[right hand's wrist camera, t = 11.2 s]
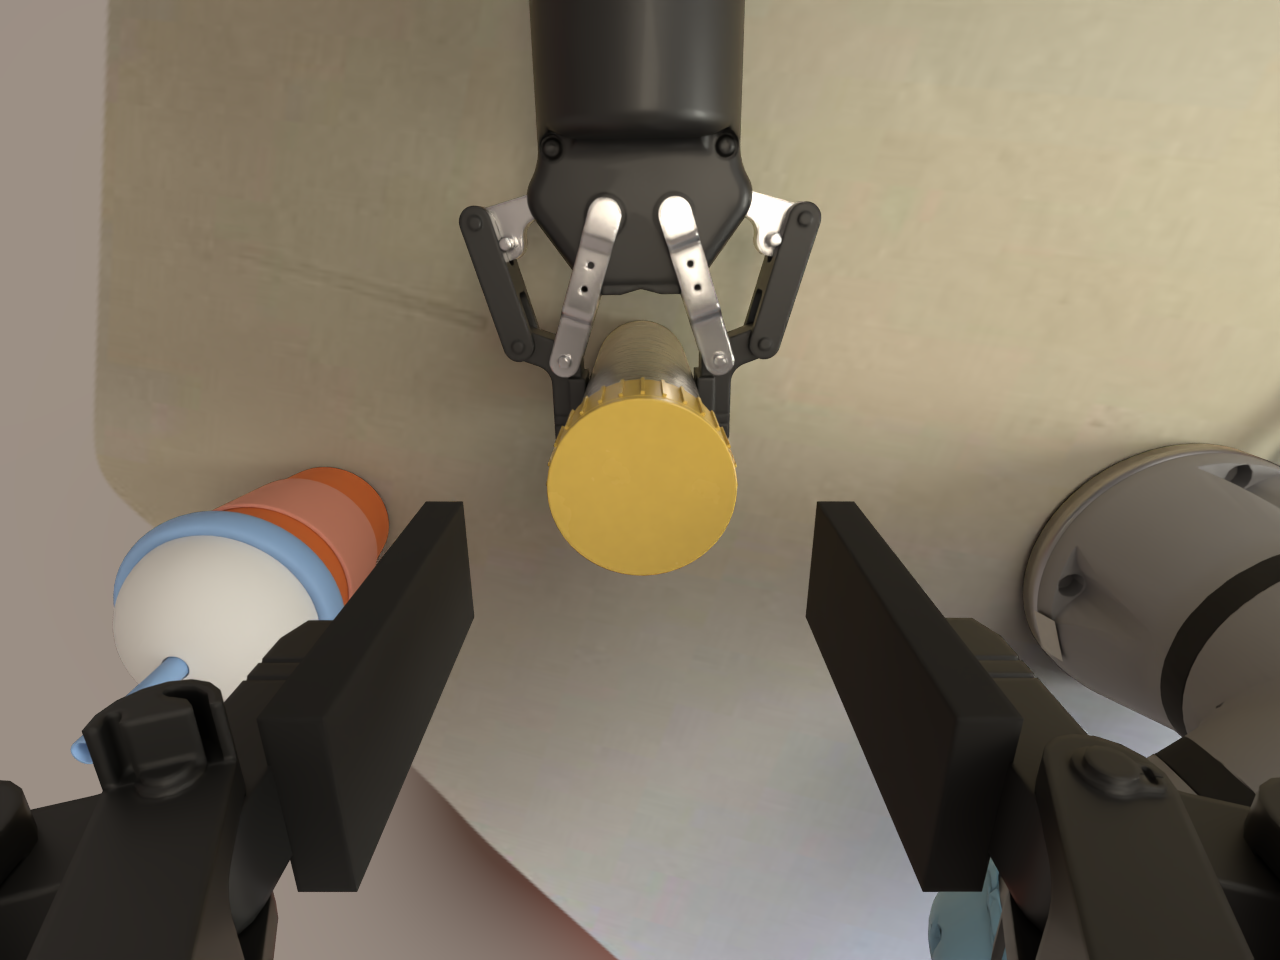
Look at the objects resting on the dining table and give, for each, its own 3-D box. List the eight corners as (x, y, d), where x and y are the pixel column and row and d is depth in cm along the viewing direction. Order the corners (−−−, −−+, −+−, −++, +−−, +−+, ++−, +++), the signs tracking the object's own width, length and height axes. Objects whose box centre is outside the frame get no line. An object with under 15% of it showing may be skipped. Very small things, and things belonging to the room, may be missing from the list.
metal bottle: (656, 302, 34) (670, 371, 18) (702, 380, 35) (755, 510, 19) (579, 351, 35) (525, 460, 18) (627, 424, 36) (616, 587, 20)
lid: (672, 341, 19) (676, 356, 17) (759, 488, 21) (774, 520, 18) (520, 435, 20) (505, 461, 18) (615, 569, 22) (612, 609, 19)
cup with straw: (225, 538, 38) (-105, 785, 21) (291, 407, 35) (-27, 569, 19) (373, 616, 40) (175, 901, 23) (445, 496, 37) (283, 719, 20)
